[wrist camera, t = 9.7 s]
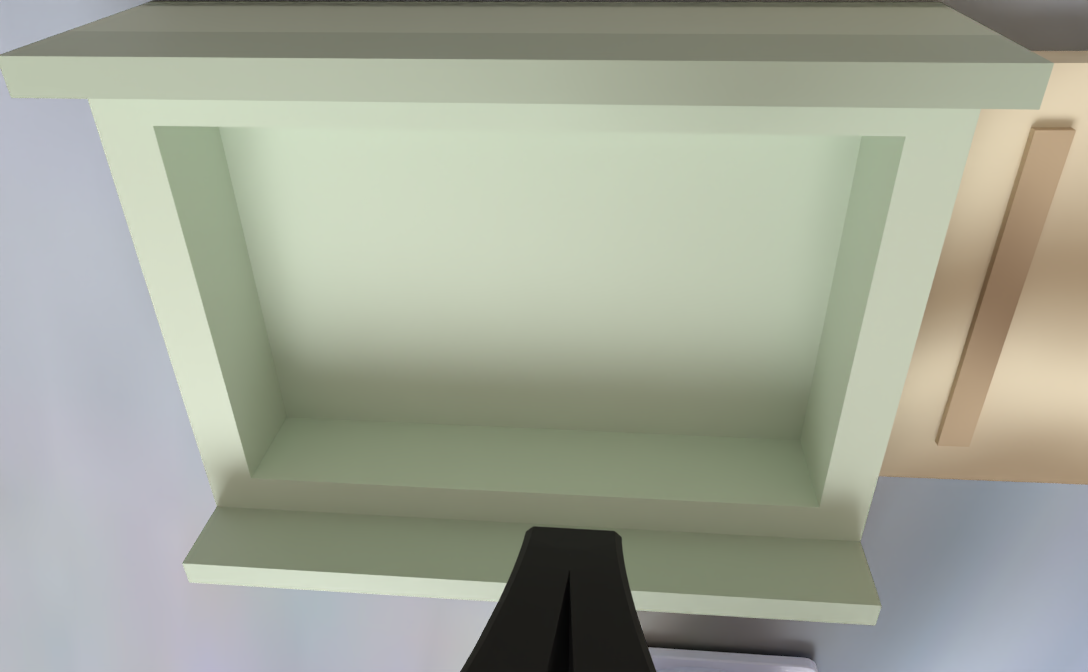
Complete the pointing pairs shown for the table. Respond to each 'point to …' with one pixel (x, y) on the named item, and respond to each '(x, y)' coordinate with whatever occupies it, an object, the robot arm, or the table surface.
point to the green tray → (539, 275)
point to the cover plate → (1008, 305)
